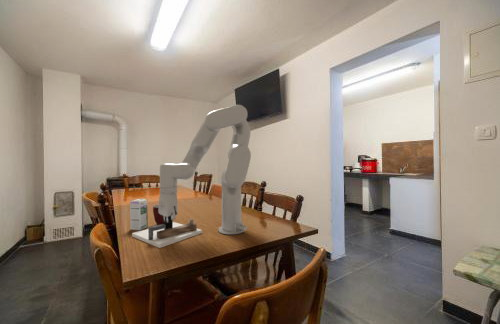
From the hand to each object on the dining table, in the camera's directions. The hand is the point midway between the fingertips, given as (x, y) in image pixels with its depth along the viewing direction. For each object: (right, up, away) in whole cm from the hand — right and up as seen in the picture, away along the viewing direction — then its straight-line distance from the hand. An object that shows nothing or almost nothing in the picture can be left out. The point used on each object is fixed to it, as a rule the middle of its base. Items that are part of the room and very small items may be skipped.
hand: (168, 230), depth 101 cm
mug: (-11, -3, +18) cm, 21 cm away
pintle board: (-1, -3, +1) cm, 3 cm away
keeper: (-2, -1, -7) cm, 8 cm away
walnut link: (+5, -1, -2) cm, 5 cm away
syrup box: (-19, -3, +10) cm, 22 cm away
